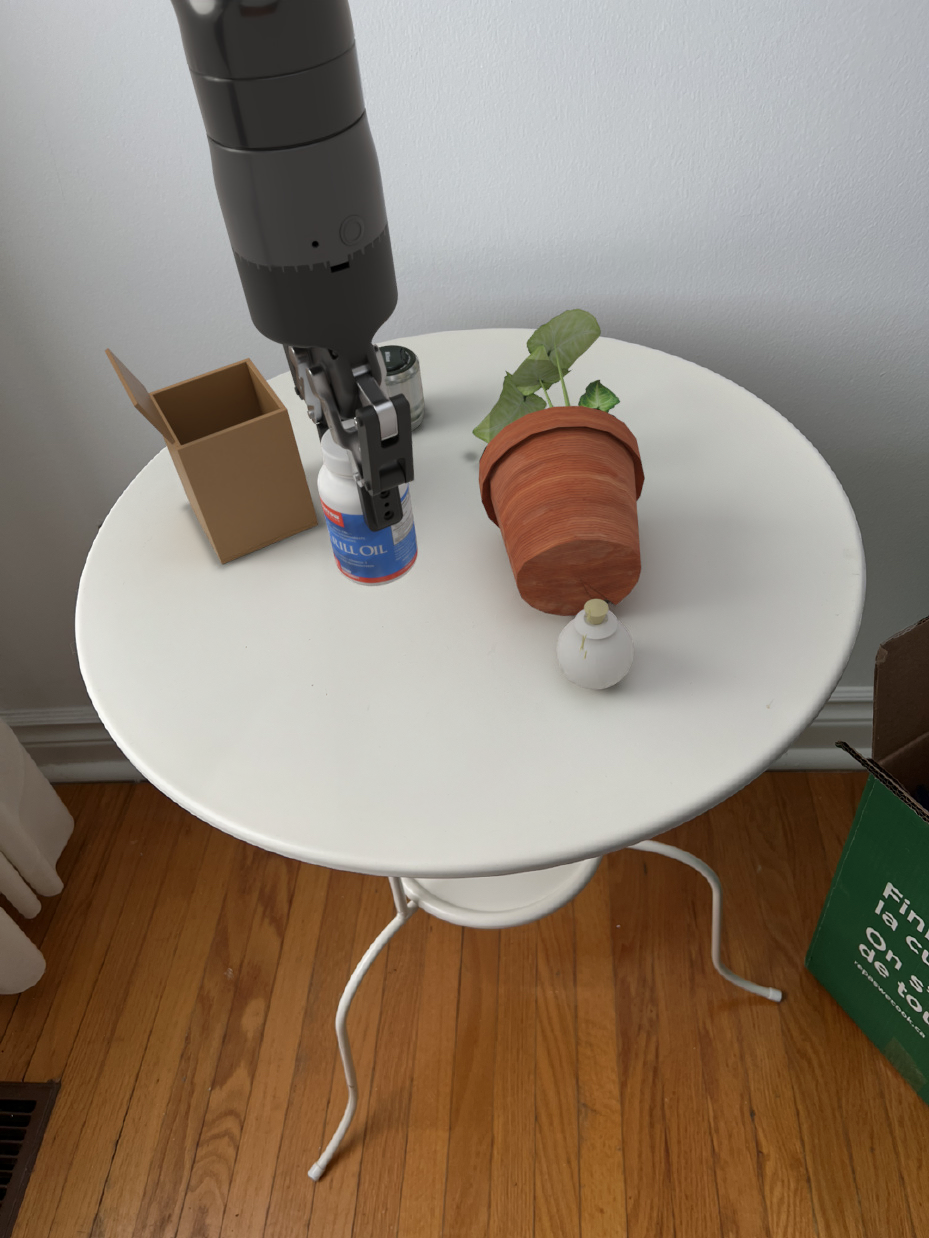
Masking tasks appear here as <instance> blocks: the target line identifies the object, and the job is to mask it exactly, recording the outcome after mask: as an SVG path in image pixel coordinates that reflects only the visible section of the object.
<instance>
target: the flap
mask: <svg viewBox="0 0 929 1238" xmlns="http://www.w3.org/2000/svg"><path fill="white" fill-rule="evenodd" d="M104 352H105V355H106V357H107V358H108V360H109V362H110V364H111V365H112V368H113V369H114V371H115V373H116V375H117V377H118V379H119V381H120V383H121V385H122V386H123V389H124V390H125V392H126V394H127V396H128V398H129V400H130V401H131V403H132V405H133V407H134V408H135V409H136V410H137V411H138V412H139V413H140V414H141V415H142V416H143V417H144V418H145V420H146V421H148V422H149V424H151V426H153V428H155V429H156V430H157V431H158V432H159V433H160V434H161V436H162V435H163V436H164V437H165V438H166V439H167V440H168V441H169V442H170V443H171V444H172V445H173V444H174V443H175V440H174V438H173V436H172V434H171V433H170V431H169V429H168V427H167V426H166V424H165V422H164V420H163V418H162V417H161V415H160V413H159V411H158V409H157V408H156V406H155V404H154V402H153V401H152V399H151V397H150V395H149V393H150V392H149V391H148V390H147V388H146V386H145V385H144V383H142V382H141V381H140V380H139V379H138V378H137V377H136V376H135V375H134V374H133V372H131V370H130V369H129V368H128V367H127V366H126V365H125V364H124V363H123V362H122V361H121V360H120V358H118V356H116V354H115V353H114V352H113V351H112V350H110V348H109V347H107V348H106V349H105V350H104ZM163 436H162V437H163Z"/></svg>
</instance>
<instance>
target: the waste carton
mask: <svg viewBox="0 0 929 1238" xmlns="http://www.w3.org/2000/svg"><path fill="white" fill-rule="evenodd" d="M148 393H149V395H150V397H151V399H152V401H153V402H154V404H155V406H156V408H157V409H158V411H159V413H160V415H161V417H162V418H163V420H164V422H165V424H166V426H167V427H168V429H169V431H170V433H171V434H172V436H173V438H174V440H175V443H174V444H173V445H172V444H171V443H170V442H169V441H168V440H167V439H166V438H165V437H164V436H163V435H162V434H161V436H162V438H163V440H164V443H165V445H166V448H167V450H168V453H169V455H170V458H171V461H172V463H173V465H174V468H175V470H176V473H177V475H178V478H179V480H180V482H181V483H180V484H181V486H182V489H183V490H184V493H185V495H186V497H187V500H188V503H189V505H190V507H191V510H192V512H193V513H194V515H195V517H196V518H197V521H198V523H199V524H200V526H201V528H202V530H203V532H204V534H205V535H206V538H207V539H208V541H209V543H210V546H212V549H213V551H214V552H215V554H216V556H217V557H218V560H219V562H220V563H221V565H225V564H226V563H229V562H232V561H234V560H237V559H239V558H241V557H244V556H247V555H249V554H251V553H253V552H256V551H258V550H261V549H263V548H266V547H268V546H270V545H272V544H274V543H278V542H280V541H283V540H285V539H287V538H290V537H292V536H294V535H297V534H299V533H302V532H304V531H307V530H309V529H312V528H314V527H317V526H319V521H318V516H317V513H316V509H315V505H314V502H313V498H312V495H311V494H312V493H311V491H310V488H309V487H310V486H309V484H308V481H307V477H306V473H305V469H304V465H303V461H302V458H301V454H300V450H299V446H298V443H297V440H296V436H295V432H294V429H293V424H292V421H291V417H290V414H289V410H288V408H287V407H286V405H285V404H284V403H283V401H282V400H281V399H280V397H279V396H278V395H277V393H276V392H275V390H274V389H273V388H272V386H271V385H270V384H269V382H268V381H267V380H266V379H265V376H263V374H262V373H261V371H260V370H259V369H258V368H257V366H256V365H255V363H254V362H253V361H252V359H251V358H250V357H246V358H244V359H242V360H239V361H236V362H233V363H230V364H227V365H225V366H222V367H219V368H216V369H213V370H210V371H208V372H207V371H206V372H204V373H201V374H198V375H195V376H193V377H191V378H188V379H185V380H182V381H179V382H176V383H173V384H171V385H168V386H165V387H161V388H159V389H157V390H153V391H150V392H148Z"/></svg>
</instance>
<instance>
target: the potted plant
mask: <svg viewBox="0 0 929 1238" xmlns="http://www.w3.org/2000/svg"><path fill="white" fill-rule="evenodd" d="M601 333H602V330H601V326H600V324H599V322H598V319H597V318H596V316H595V315H593V314H592V313H591V312H589V311H587V310H584V309H581V308H573V309H566V310H565V311H563V312H561V313H560V314H558V315H555V316H554V317H552V318H551V319H550V320H549V321H548V322H546V323H544V324H541V325H540V326H539V327H537V329H536V330H534V331H533V333H532V335H531V336H530V337H529V338H528V339H527V341H526V349H527V351H528V354H529V355H528V356H527V357H526V358H525V359H524V360H523V361H522V362H521V363H520V365H519V366H518V367H517V369H516V370H515V371H514V372H512V373H511V372H509V371H507V370H505V373H506V375H505V376H504V377H503V379H504V380H503V382H502V390H501V393H500V395H499V398H498V400H497V402H496V403H495V404H494V405H493V406H492V408H491V409H490V411H489V413H488V414H487V415H486V416H485V417H484V419H482V421H481V422H479V424H478V425H477V426H475V427H474V428H473V429H472V433H471V434H472V435H473V436H475V437H476V438H477V439H479V440H482V441H483V442H485V443H487V445H486V446H485V447H484V449H483V451H482V453H481V456H480V458H479V460H478V462H479V463H478V488H479V492H480V499H481V503H482V506H483V508H484V510H485V513H486V515H487V518H488V519H489V520H490V521H491V522H492V523H493V524H494V525H495V526H496V527H497V528H499V530H500V531H499V532H500V534H501V537H502V541H503V545H504V548H505V551H506V554H507V558H508V560H509V561H508V562H509V565H510V568H511V571H512V574H513V578H514V581H515V585H516V588H517V590H518V592H519V595H520V597H521V600H523V601H524V602H525V603H526V604H527V605H529V606H530V607H531V608H533V609H535V610H537V611H540V612H542V613H544V614H548V615H554V616H560V617H573V616H575V617H576V615H577V614H578V613H579V612H580V611H582V610H583V609H584V605H585V604H586V602H587V601H589V600H591V599H601V600H603V601H605V602H606V603H607V604H608V605H609V604H612V605H614V606H617V605H618V604H619V603H621V602H622V601H623V600H624V599H625V598H627V596H628V595H630V593H631V592H632V591H633V589H635V587H636V585H637V584H638V583H639V579H640V577H641V576H640V575H641V573H642V560H641V559H642V558H641V557H642V556H641V545H640V544H641V543H640V532H639V530H640V529H639V516H638V504H637V502H638V501H639V499H640V498H641V496H642V491H643V487H644V484H645V480H646V477H645V472H644V468H643V463H642V458H641V457H642V456H641V454H640V449H639V443H638V440H637V437H636V436H635V434H634V433H633V432H632V431H631V429H630V428H629V427H628V425H627V424H626V423H625V422H624V421H622V420H621V419H619V418H618V417H617V416H615V415H614V414H612V413H609V412H610V411H611V410H612V409H614V408H615V406H616V405H619V404H620V403H621V400H620V397H618V396H617V394H616V393H614V391H612V390H611V389H610V388H609V387H607V386H605V385H604V384H603V383H602V382H601V379H597V380H593V381H591V382H589V384H588V385H587V386H586V387H585V389H584V390H585V392H584V393H583V394H582V395H581V396H579V399H578V403H577V405H571V402H570V399H569V394H568V390H567V386H566V382H565V379H564V378H565V376H567V375H568V374H570V373H571V372H572V371H573V369H571V370H570V368H571V367H572V366H573V365H574V364H575V362H576V361H577V360H578V359H579V358H580V357H581V356H583V355H584V354H585V353H586V352H587V351H588V350H589V349H590V348H591V347H592V345H593V344H595V342H596V341H597V340H598V339H599V338H600V336H601ZM559 382H560V384H561V389H562V394H563V400H564V406H563V405H562V406H554V405H553V403H552V401H551V398H550V396H549V394H548V390H550V388H551V387H552V386H553V385H554V384H558V383H559ZM541 388H542V391H543V393H544V395H545V398H546V400H547V401H546V400H545V399H544V398H543V397H542V396H539V395H538V394H536V392H538V391H539V390H540V389H541ZM547 406H549V407H548V408H546V407H547Z"/></svg>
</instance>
